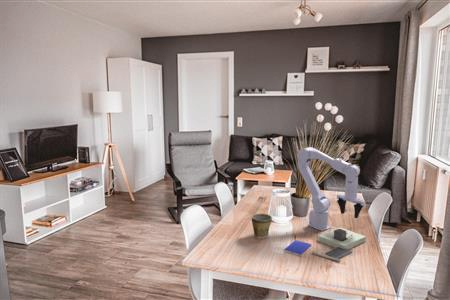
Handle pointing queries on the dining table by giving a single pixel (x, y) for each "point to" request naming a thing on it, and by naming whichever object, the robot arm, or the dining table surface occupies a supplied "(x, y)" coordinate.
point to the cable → (326, 256)
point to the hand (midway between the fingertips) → (349, 215)
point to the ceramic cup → (261, 225)
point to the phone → (338, 252)
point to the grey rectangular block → (340, 235)
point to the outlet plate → (350, 241)
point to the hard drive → (298, 248)
